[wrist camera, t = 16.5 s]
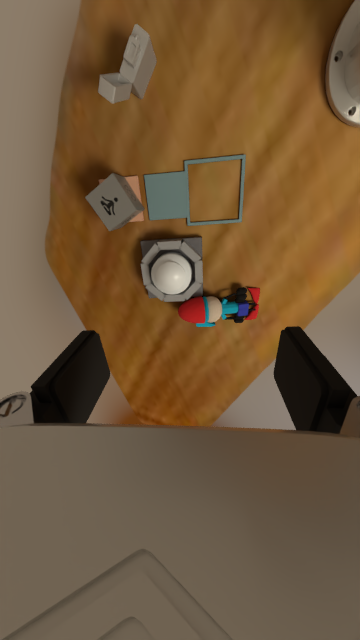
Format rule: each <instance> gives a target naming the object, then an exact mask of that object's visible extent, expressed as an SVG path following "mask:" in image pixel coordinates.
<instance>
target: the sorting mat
mask: <svg viewBox="0 0 360 640" xmlns="http://www.w3.org/2000/svg"><path fill="white" fill-rule="evenodd" d="M245 157H246V155H237V156H228V157H218V158H208V159H198V160H188V161H184V163H185V171H183V172H172V173H162V174H152V175H144V178H145V186H146V194H147V202H148V210H149V218H150V220H160V219H173V218H187V224H188V226H192V225H206V224H221V223H235V222H242V207H243V190H244V174H245ZM236 159H242V171H241V189H240V207H239V219H236V220H222V221H208V222H194V223H190V211H189V188H188V165H187V164H196V163H206V162H216V161H226V160H236ZM125 178H126V180H127V182H128V183H129V185H130V186H131V188H132V190H133V191H134V193H135V194H136V196H137V198H138V199H139V201H140V202H141V196H140V188H139V181H138V176H131V177H125ZM104 180H105V179H100V180H99V184H101V183H102V182H103V181H104ZM141 204H142V203H141ZM133 221H144V217H143V211H142V212H141V213H139V214H138V215H137V216H136V217H134V218H133V219H132V220H130V221H129V222H133Z"/></svg>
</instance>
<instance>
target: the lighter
mask: <svg viewBox="0 0 360 640" xmlns="http://www.w3.org/2000/svg"><path fill="white" fill-rule="evenodd" d="M156 62H157V61H156V57H155V53H154V50H153V47H152V43H151V40H150V36H149V34H148V33H147V32H146V31H145V30H143V29H142V28H141V27H140V26H139V25H138V24H135V25H134V28H133V32H132V35H130V37H129V40H128V43H127V46H126V50H125V53H124V59H123V62H122V65H121V68H120V73H110V74H101V75H100V80H99V89H98V92H99V94H101V95H102V96H103V97H105V98H106V99H107V100H108V101H110V102H111V103H116V102H120V101H123V100H127V99H129V97H130V93H131V92H132V93H133V94H135V95H136V96H137V97H138V98H140V99H143V96H144V94H145V91H146V88H147V86H148V83H149V81H150V78H151V75H152V73H153V70H154V68H155V65H156Z"/></svg>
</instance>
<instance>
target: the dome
mask: <svg viewBox="0 0 360 640" xmlns="http://www.w3.org/2000/svg"><path fill="white" fill-rule="evenodd" d="M191 274H192V268H191V264H190V262H189V260H188V259H187V258H186V257H185V256H184V255H183V254H181V253H178V252H167V253H164V254H162V255H161V256H160V257H159V258H158V259H157V261H156V262H155V263H154V265H153V267H152V271H151V277H152V281H153V283H154V285H155V286H156V287H157V288H158V289H159V290H160V291H161V292H163V293H166V294H178V293H181V292H182V291H184V290H185V289H186V288H187V287H188V285H189V283H190V281H191Z"/></svg>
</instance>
